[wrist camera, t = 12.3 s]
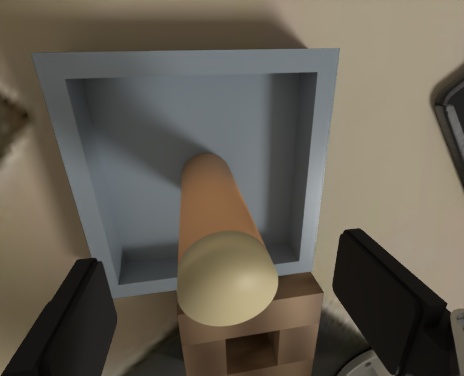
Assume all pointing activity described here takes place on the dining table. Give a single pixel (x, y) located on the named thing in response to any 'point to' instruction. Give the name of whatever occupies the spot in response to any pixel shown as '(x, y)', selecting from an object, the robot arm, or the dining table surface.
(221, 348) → the pin block
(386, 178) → the dining table surface
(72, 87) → the tray
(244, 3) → the dining table surface
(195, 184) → the peg
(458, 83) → the phone
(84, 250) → the dining table surface
